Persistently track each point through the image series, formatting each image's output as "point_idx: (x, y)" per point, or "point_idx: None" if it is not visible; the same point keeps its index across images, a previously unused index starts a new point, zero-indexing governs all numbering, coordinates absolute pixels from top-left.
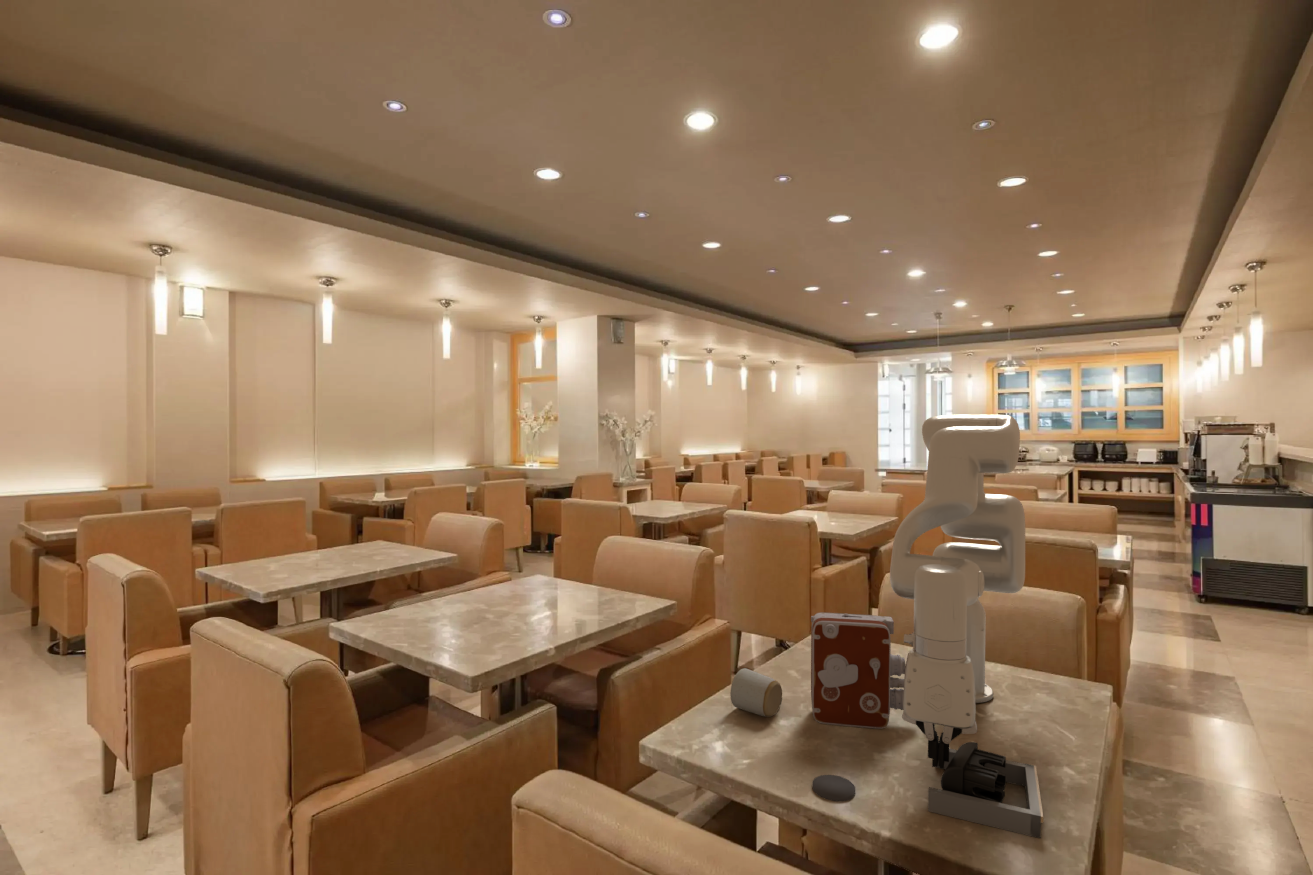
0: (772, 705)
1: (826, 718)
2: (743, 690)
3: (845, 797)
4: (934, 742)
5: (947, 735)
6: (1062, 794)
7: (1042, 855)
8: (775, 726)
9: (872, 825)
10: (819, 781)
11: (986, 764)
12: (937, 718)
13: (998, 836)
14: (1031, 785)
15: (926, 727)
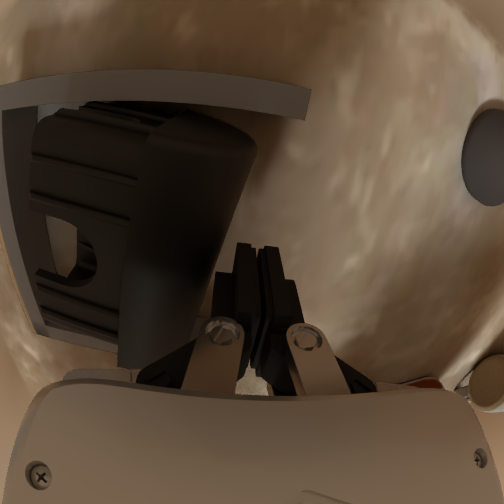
0: (489, 373)
1: (423, 385)
2: None
3: (488, 112)
4: (282, 314)
5: (216, 351)
6: (12, 283)
7: (32, 13)
8: (489, 341)
9: (440, 8)
10: None
11: None
12: (301, 435)
13: (106, 31)
14: (13, 248)
15: (332, 375)
